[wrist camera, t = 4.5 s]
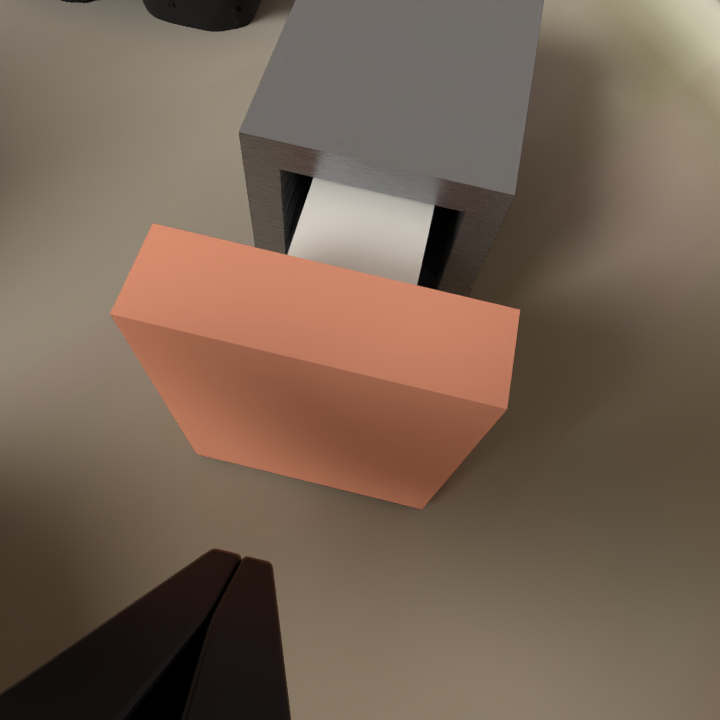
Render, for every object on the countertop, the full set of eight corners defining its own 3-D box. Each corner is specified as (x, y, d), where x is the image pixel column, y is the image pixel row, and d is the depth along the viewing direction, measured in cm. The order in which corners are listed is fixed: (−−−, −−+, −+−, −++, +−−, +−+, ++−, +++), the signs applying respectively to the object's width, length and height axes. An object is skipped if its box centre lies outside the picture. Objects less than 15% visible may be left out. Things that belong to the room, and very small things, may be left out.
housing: (453, 328, 21) (514, 195, 15) (260, 282, 21) (238, 132, 15) (491, 125, 25) (550, -47, 19) (329, 88, 26) (335, -93, 19)
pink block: (422, 509, 18) (507, 409, 10) (197, 454, 18) (110, 314, 10) (472, 233, 23) (558, 15, 15) (290, 191, 23) (280, -46, 15)
